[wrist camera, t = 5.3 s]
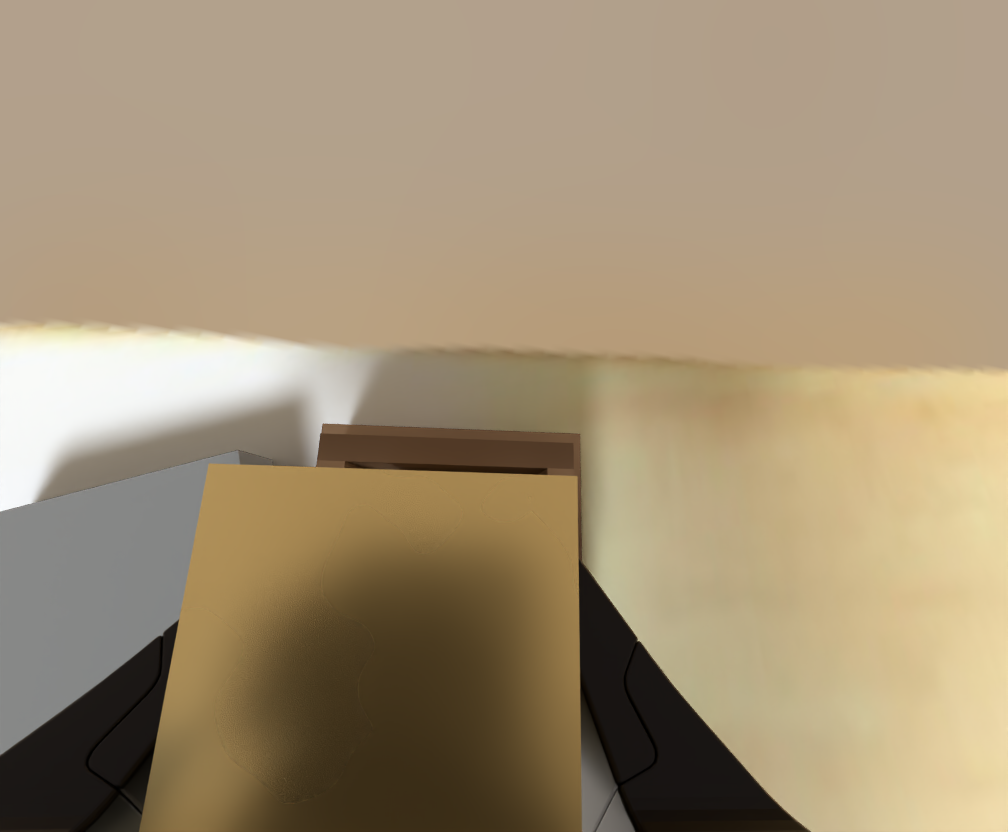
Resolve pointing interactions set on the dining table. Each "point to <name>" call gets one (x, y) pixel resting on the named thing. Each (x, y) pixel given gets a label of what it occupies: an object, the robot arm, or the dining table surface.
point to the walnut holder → (452, 451)
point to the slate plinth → (92, 585)
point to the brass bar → (375, 656)
